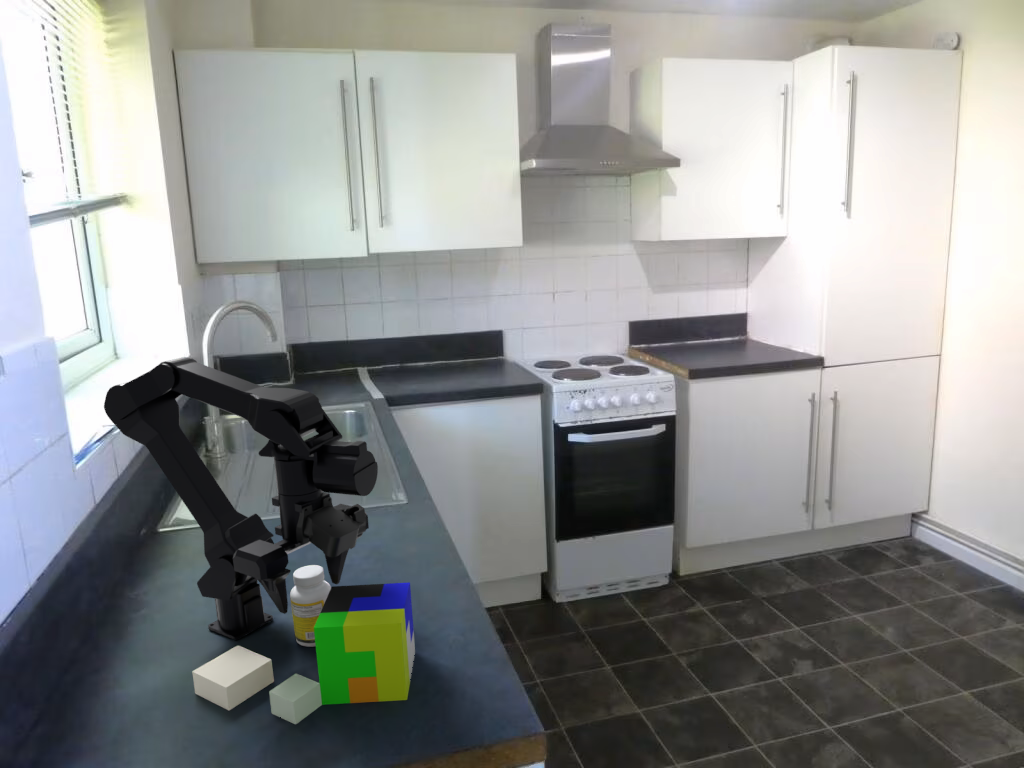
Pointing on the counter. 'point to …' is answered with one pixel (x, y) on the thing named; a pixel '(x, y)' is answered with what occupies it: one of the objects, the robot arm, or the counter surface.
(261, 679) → the base brick
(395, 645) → the puzzle toy
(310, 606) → the supplement bottle
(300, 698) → the brick
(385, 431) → the counter surface
